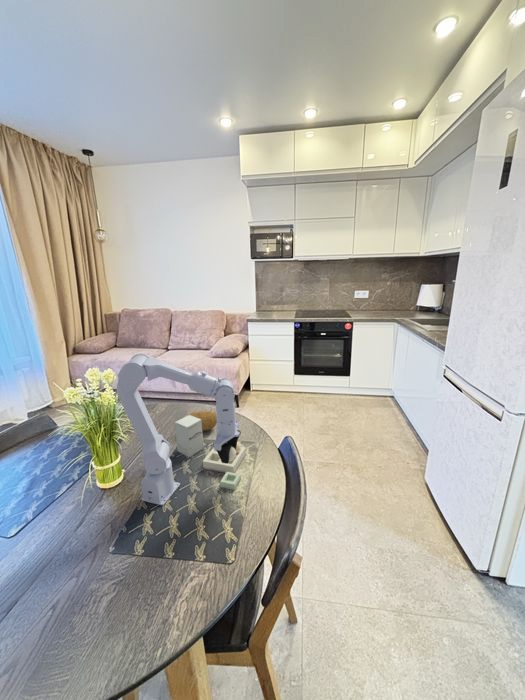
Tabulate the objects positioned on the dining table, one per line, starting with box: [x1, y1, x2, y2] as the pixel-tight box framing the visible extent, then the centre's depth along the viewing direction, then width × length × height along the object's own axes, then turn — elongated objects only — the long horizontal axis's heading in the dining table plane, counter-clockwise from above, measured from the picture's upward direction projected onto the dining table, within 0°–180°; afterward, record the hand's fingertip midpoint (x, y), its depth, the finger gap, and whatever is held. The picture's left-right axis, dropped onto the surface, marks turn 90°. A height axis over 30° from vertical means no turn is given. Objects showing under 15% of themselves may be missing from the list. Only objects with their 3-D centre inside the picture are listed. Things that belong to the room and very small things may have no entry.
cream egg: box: [229, 446, 236, 461], centre depth 94 cm, size 5×5×5 cm
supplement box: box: [173, 414, 205, 458], centre depth 114 cm, size 7×7×13 cm
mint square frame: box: [219, 472, 242, 491], centre depth 96 cm, size 5×5×2 cm
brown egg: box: [236, 441, 242, 454], centre depth 108 cm, size 5×5×5 cm
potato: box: [188, 410, 217, 432], centre depth 129 cm, size 10×14×8 cm
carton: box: [202, 446, 247, 473], centre depth 107 cm, size 12×12×3 cm
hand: (228, 457), depth 94 cm, fingers closed on cream egg, 5 cm apart
